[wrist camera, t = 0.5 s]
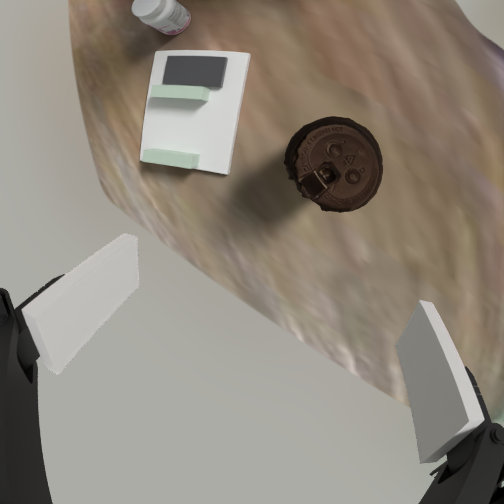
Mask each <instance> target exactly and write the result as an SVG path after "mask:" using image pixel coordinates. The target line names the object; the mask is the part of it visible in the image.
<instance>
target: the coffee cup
mask: <svg viewBox="0 0 504 504" xmlns="http://www.w3.org/2000/svg"><path fill="white" fill-rule="evenodd" d="M382 160H383V159H382V155H381V151H380V148H379V145H378V143H377V141H376V140H375V138H374V137H373V135H372V134H371V132H370V131H369V130H368V129H367V128H365V127H363V126H362V125H360V124H358V123H356V122H355V121H353V120H351V119H350V118H343V117H335V116H331V117H325V118H322V119H319V120H317V121H314V122H312V123H310V124H307V125H305V126H303V127H302V128H301V129H300V130H299V131H298V132H296V133H295V135H294V136H293V137H292V138H291V140H290V142H289V144H288V147H287V149H286V153H285V161H284V164H285V165H286V169H287V172H288V175H289V179H290V180H294V181H295V183H296V185H297V189H298V191H299V192H301V193H302V197H305V198H310V199H311V200H312V201H313V202H315V203H316V204H318V205H319V206H320V207H321V210H322V211H334V212H339V213H341V212H350V211H354V210H356V209H359V208H361V207H362V206H364V205H366V204H367V203H368V202H369V201H370V200H371V199H372V198H373V197H374V196H375V194H376V193H377V190H378V188H379V186H380V183H381V180H382V174H383V165H382Z"/></svg>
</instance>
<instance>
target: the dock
mask: <svg viewBox="0 0 504 504" xmlns="http://www.w3.org/2000/svg"><path fill="white" fill-rule="evenodd" d="M250 57H251V55H250V54H249V53H241V52H228V51H207V50H170V51H156V53H155V57H154V62H153V67H152V73H151V78H150V84H149V90H148V96H147V102H146V109H145V116H144V124H143V133H142V142H141V152H140V161H142V162H149V163H156V164H163V165H169V166H176V167H182V168H188V169H192V168H193V169H199V170H205V171H211V172H216V173H222V174H227V175H228V174H229V173H230V167H231V161H232V155H233V149H234V143H235V137H236V132H237V126H238V120H239V115H240V109H241V104H242V98H243V93H244V88H245V82H246V77H247V72H248V67H249V62H250Z"/></svg>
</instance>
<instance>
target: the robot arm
mask: <svg viewBox="0 0 504 504" xmlns="http://www.w3.org/2000/svg"><path fill="white" fill-rule="evenodd" d="M137 245H138V244H137V236H133V235H129V234H126V233H124V234H122V235H121V236H119V237H118V238H116V239H115V240H113V241H112V242H110V243H109V244H107V245H106V246H105V247H103V248H102V249H100V250H99V251H97V252H96V253H94V254H93V255H92V256H90V257H89V258H87V259H86V260H85V261H83V262H82V263H80V264H79V265H78V266H76V267H75V268H74V269H72V270H71V271H69V272H68V273H67V274H63V275H61V276H58V277H56V278H54V279H52V280H51V281H50V282H48V283H47V284H46V285H45V287H44V286H43V287H42V288H41V289H40V290H38V292H36V293H34V294H33V295H31V297H29V298H28V299H27V300H25V301H24V302H23V303H22V304H20V305H19V306H18V307H17V308H15V309H14V307H13V304H12V302H11V299H10V296H9V293H8V291H7V290H5V289H3V288H0V504H53V503H52V499H51V495H50V491H49V487H48V482H47V477H46V472H45V466H44V460H43V453H42V446H41V437H40V427H39V414H38V387H37V386H38V381H37V380H38V367H37V362H36V360H37V359H38V358H39V357H41V359H42V362H43V364H44V366H45V367H46V368H48V369H49V370H51V371H52V372H54V373H55V374H57V375H59V374H60V373H61V372H62V370H63V369H64V368H65V367H66V366H67V365H68V364H69V362H70V361H71V360H72V359H73V358H74V356H75V355H76V354H77V353H78V352H79V351H80V350H81V349H82V347H83V346H84V345H85V344H86V343H87V342H88V341H89V340H90V339H91V337H92V336H93V335H94V334H95V333H96V332H97V331H98V330H99V329H100V327H101V326H102V325H103V324H104V323H105V322H106V321H107V320H108V319H109V318H110V317H111V316H112V314H113V313H114V312H115V311H116V310H117V309H118V308H119V307H120V306H121V305H122V304H123V303H124V302H125V301H126V299H128V298H129V296H130V295H131V294H132V293H133V292H134V291H135V290H136V289H137V288H138V287H139V270H138V246H137ZM395 346H396V349H397V353H398V357H399V360H400V364H401V368H402V372H403V376H404V380H405V384H406V389H407V393H408V397H409V402H410V407H411V412H412V417H413V422H414V426H415V433H416V439H417V445H418V452H419V458H420V463H421V464H422V463H430V462H437V461H438V460H439V459H440V458H442V457H443V456H444V455H447V461H446V462H444V463H443V464H442V465H440V466H439V467H438V468H436V469H435V470H434V471H432V472H431V473H430V475H431V476H432V475H433V474H435V473H436V472H438V471H439V472H438V473H437V475H436V476H435V477H434V478H435V479H434V480H433V482H432V484H431V485H430V487H429V489H428V490H427V492H426V493H425V495H424V496H423V498H422V499H421V501H420V502H419V504H504V487H501V484H502V481H504V428H503V427H502V426H501V425H500V424H498V423H492V422H491V419H490V417H489V414H488V411H487V408H486V405H485V403H484V400H483V398H482V395H480V390H479V388H478V387H477V383H476V380H475V378H474V376H473V374H472V373H471V372H470V371H469V369H468V368H467V367H465V366H464V365H463V363H462V361H461V358H460V356H459V354H458V352H457V350H456V348H455V346H454V343H453V341H452V339H451V337H450V335H449V333H448V331H447V329H446V327H445V325H444V323H443V322H442V320H441V318H440V316H439V314H438V312H437V310H436V308H435V307H434V305H433V303H431V302H426V301H422V300H419V302H418V304H417V306H416V308H415V310H414V312H413V314H412V316H411V318H410V320H409V322H408V324H407V325H406V327H405V329H404V331H403V333H402V335H401V336H400V338H399V340H398V342H397V343H396V345H395Z"/></svg>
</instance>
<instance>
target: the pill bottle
mask: <svg viewBox="0 0 504 504" xmlns="http://www.w3.org/2000/svg"><path fill="white" fill-rule="evenodd" d="M132 12H133V14H134V15H135V16H137V17H139V18H140V20H141V21H142V22H143V23H145V24H147V25H149V26H151V27H153V28H155V29H156V30H158V31H160V32H162V33H164V34H167V35H175V34H178V33H180V32H182V31H183V30H185V29H186V27H187V26H188V25H189V23H190V20H191V15H190V12H189V11H188V10H187V9H186V8H185V7H183V6H182V5H181V4H180V3H178V2H177V1H176V0H134V2H133V4H132Z"/></svg>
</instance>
